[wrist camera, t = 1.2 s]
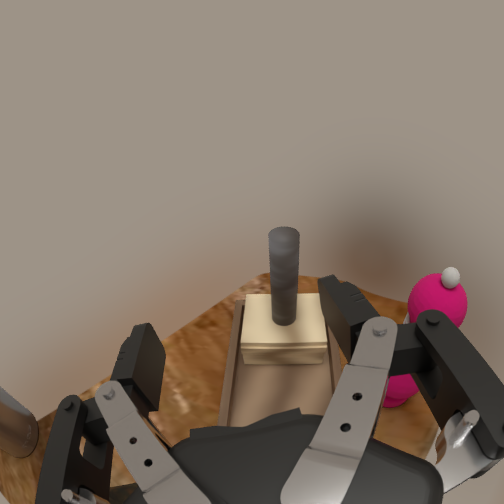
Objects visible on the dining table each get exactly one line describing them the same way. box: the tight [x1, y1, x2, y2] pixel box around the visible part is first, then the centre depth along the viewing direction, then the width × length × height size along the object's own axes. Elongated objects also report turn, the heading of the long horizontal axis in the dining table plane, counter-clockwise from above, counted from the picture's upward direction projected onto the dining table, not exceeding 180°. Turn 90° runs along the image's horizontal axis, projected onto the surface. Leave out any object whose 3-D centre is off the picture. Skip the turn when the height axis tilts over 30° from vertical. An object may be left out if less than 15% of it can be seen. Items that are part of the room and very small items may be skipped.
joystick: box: [241, 227, 327, 365], centre depth 32 cm, size 10×8×17 cm
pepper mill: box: [383, 267, 467, 408], centre depth 24 cm, size 7×7×20 cm
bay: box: [217, 300, 342, 427], centre depth 32 cm, size 14×24×3 cm, turn 176°
